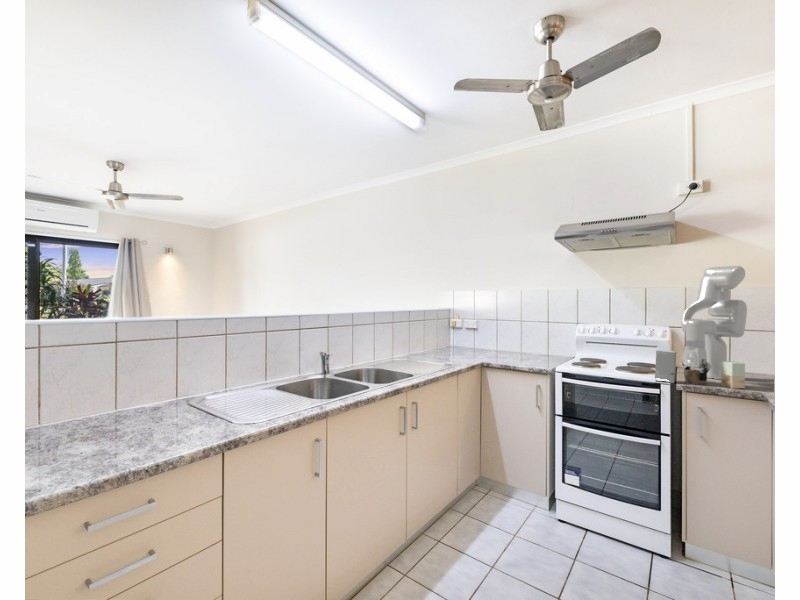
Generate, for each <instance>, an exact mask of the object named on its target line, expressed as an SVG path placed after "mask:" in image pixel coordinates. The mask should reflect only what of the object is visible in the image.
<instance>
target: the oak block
mask: <svg viewBox="0 0 800 600" xmlns="http://www.w3.org/2000/svg"><path fill="white" fill-rule="evenodd" d="M720 382H721V383H720V386H721V385H722V386H721V387H723V386H726V387H725V388H727V387H729V388H728V389H731V388H745V389H746V375H745V376H729V375H725V374H721V379H720Z"/></svg>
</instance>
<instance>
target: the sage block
mask: <svg viewBox="0 0 800 600" xmlns="http://www.w3.org/2000/svg"><path fill="white" fill-rule="evenodd" d="M721 374H725V375H729V376H745V377H746V363H744V362H740V361H735V360H734V361H730V360H729V361H728V360H727V361H721Z"/></svg>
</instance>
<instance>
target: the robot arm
mask: <svg viewBox="0 0 800 600" xmlns="http://www.w3.org/2000/svg"><path fill="white" fill-rule="evenodd" d="M745 277H746V270H745V268H744V267H742V266H740V265H732V266H731V265H730V266H727V265H726V266H714V267H708V268H705V269H704V271H703V276H702V277H701V279H700V283H699V289H698V292H697V297H696V300H695V301H694V302H693V303H691V304H690V305H689V306H688V307H687V308H686V309H685V310H684V312H683V315H682V319H681V325H680V326H681V330H682V332H684V333H685V347H684V350H683V357H682V358H681V360H680V361H681V365H682V366H683V369H684V370H683V371H684V372H683V374H684V377H685V370H692V369H693V368H695V369H698V370H699V371H700V374H699V380H700V381H706V382H707V381H708V379H712V378H714V379H715V380H721V361H728V360H727V359H728V358H727V357H728V356H727V354H728V350H727V349H728V347H727V346H728V345H727V343H726V341H724V339H723V338H737V339H738V338H742V337H743V336H744V334H745V331H746V323H747V316H748V306H747V303H746V302H745V301H744V300H742V299H731V290H734V289H736V288H737V287H738V286H739V285H740V284H741V283H742V281H744V280H745ZM705 309H707V313H708V315H709V316H711V317H712V318H707V319H698V318H693V316H694V315H695V314H696V313H698V312H701V311H702V310H705ZM713 317H714V318H713ZM729 318H732V319H729ZM691 368H692V369H691ZM714 379H713V380H714Z"/></svg>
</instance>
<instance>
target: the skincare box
mask: <svg viewBox="0 0 800 600" xmlns="http://www.w3.org/2000/svg"><path fill="white" fill-rule="evenodd" d="M676 366H677V351H672V350H667V349H666V350H663V349H657V350H656V351H655V365H654V367H655V368H654V369H655V370H654V379H655V378H660V379H667V380H669V381H670V383H669V384H675V382H676Z"/></svg>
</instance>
